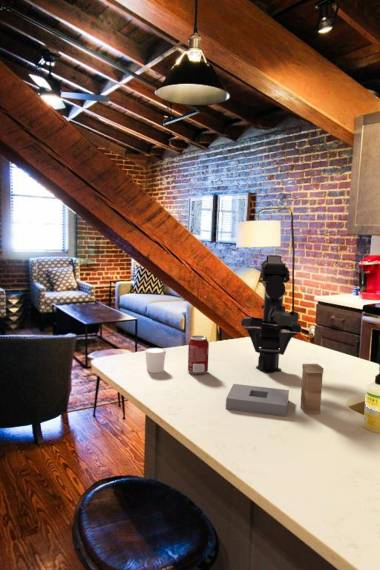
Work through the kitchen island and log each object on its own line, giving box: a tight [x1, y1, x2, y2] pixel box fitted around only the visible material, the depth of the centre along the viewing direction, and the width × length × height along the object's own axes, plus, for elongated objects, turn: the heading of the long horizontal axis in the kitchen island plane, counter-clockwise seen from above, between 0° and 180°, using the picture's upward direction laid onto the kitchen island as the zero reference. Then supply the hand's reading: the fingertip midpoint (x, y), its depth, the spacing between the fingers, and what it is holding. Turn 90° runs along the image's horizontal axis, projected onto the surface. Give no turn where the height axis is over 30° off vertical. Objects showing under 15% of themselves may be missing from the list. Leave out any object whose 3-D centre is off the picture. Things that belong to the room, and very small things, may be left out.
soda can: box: [187, 335, 210, 376], centre depth 152 cm, size 7×7×12 cm
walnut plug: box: [299, 363, 324, 415], centre depth 122 cm, size 4×4×12 cm
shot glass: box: [145, 347, 167, 374], centre depth 154 cm, size 7×7×7 cm
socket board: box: [225, 383, 290, 417], centre depth 126 cm, size 12×16×3 cm
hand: (269, 353), depth 139 cm, fingers open, 9 cm apart
